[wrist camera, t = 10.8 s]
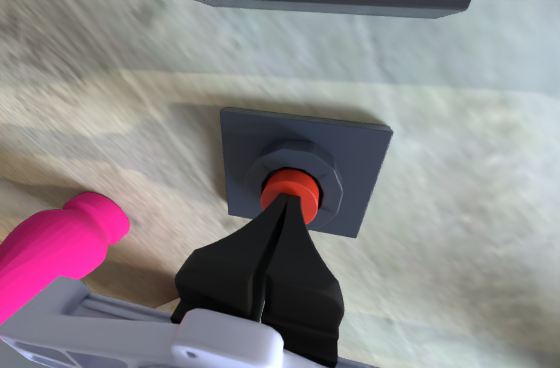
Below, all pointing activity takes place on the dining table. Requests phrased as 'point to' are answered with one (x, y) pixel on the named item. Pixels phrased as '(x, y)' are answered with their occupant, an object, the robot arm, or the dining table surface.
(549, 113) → the dining table surface
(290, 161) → the button block
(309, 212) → the power button
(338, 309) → the robot arm
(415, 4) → the panel
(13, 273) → the pepper mill
